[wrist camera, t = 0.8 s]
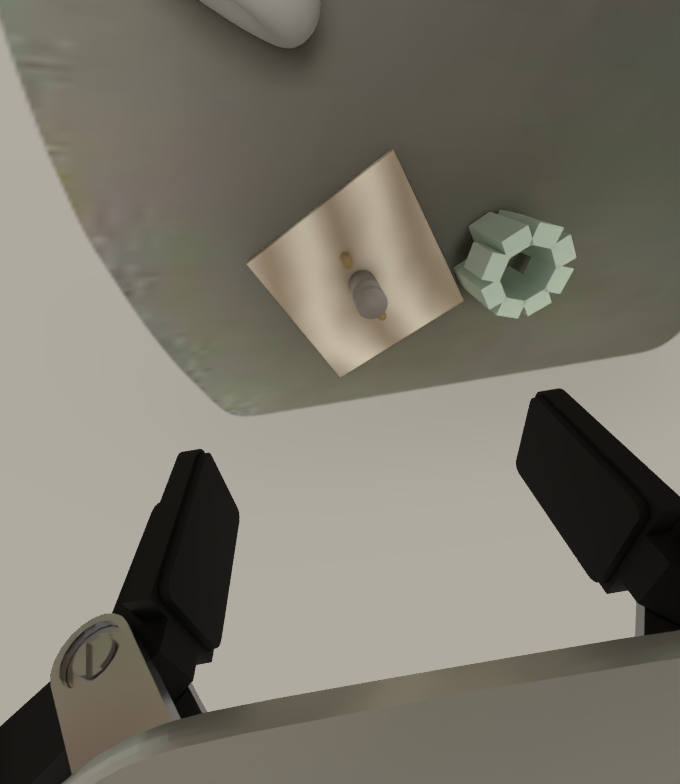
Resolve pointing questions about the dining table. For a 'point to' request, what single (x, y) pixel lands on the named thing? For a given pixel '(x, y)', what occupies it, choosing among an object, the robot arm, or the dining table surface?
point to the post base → (360, 268)
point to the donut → (272, 18)
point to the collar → (506, 285)
